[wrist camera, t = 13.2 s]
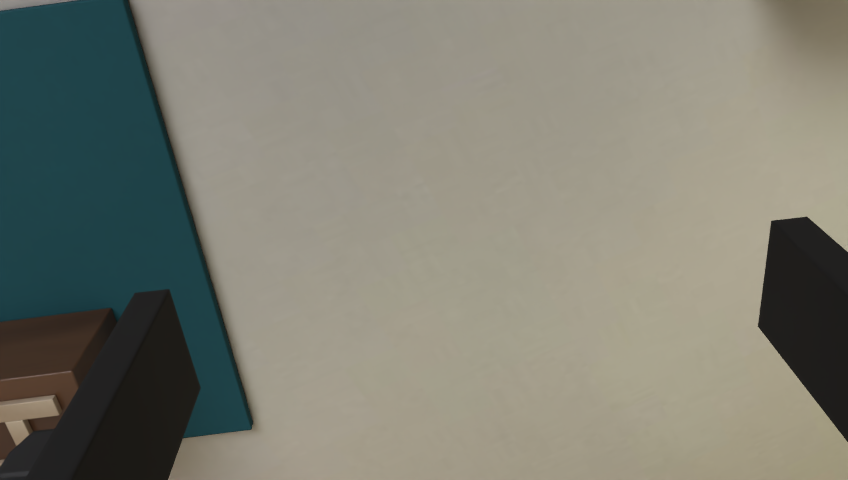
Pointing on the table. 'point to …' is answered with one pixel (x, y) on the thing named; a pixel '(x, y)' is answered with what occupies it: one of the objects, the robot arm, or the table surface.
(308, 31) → the table surface
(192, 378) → the robot arm
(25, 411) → the tile
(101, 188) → the mat
